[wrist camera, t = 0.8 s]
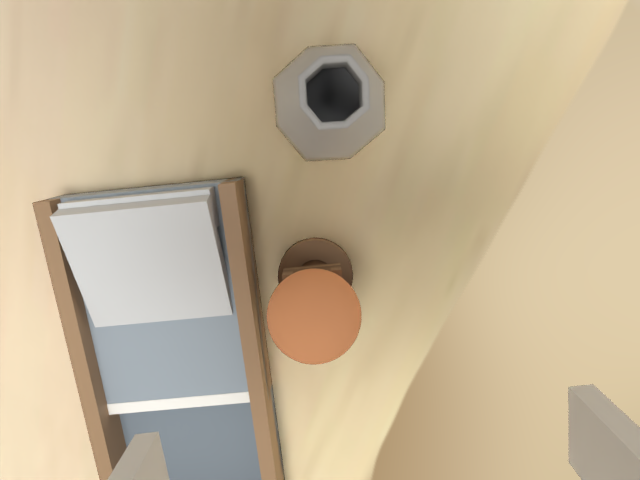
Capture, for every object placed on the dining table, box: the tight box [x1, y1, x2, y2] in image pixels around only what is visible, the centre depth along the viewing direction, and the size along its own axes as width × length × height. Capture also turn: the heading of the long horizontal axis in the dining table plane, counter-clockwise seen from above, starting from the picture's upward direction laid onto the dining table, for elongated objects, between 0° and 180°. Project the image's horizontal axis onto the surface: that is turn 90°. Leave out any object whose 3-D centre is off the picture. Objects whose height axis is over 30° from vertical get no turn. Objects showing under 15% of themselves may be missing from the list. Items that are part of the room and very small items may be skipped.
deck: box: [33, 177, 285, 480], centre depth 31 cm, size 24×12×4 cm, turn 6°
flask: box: [273, 44, 385, 161], centre depth 25 cm, size 7×7×10 cm
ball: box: [267, 268, 361, 364], centre depth 25 cm, size 5×5×5 cm
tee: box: [278, 238, 353, 286], centre depth 29 cm, size 5×5×5 cm
